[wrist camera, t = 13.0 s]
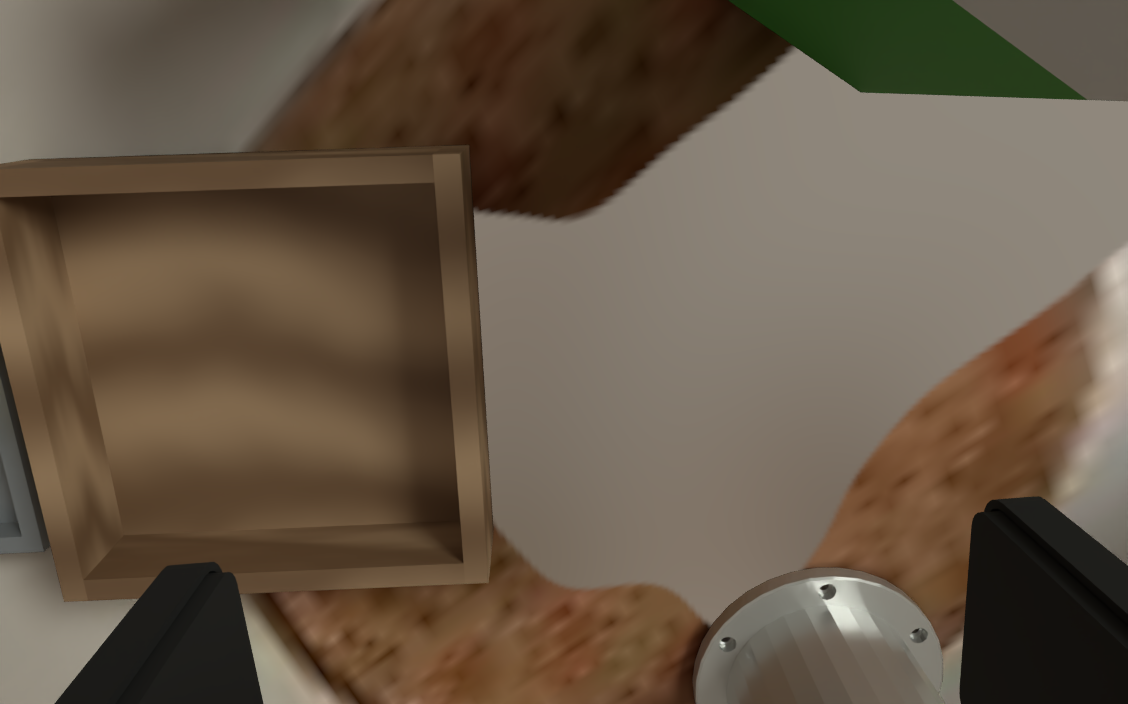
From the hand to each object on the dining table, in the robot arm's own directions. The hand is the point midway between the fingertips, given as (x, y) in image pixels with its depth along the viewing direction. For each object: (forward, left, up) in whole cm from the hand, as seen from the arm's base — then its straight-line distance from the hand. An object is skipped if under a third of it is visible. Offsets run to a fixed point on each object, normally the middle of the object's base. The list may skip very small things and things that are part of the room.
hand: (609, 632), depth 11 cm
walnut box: (-5, +13, -27) cm, 30 cm away
